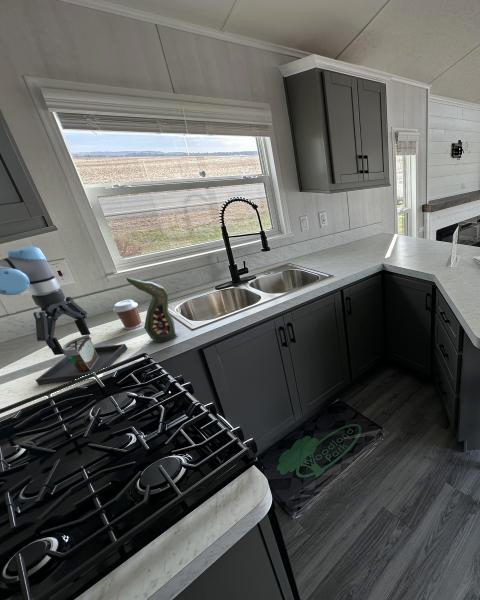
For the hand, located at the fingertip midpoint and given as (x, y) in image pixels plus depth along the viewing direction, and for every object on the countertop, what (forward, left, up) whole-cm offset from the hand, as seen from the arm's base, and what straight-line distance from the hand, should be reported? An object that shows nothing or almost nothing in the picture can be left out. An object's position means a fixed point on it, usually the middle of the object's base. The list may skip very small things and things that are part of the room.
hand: (73, 344), depth 122 cm
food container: (0, 0, -10) cm, 10 cm away
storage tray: (0, 0, -10) cm, 10 cm away
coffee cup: (+29, +13, -10) cm, 34 cm away
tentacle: (+24, -13, -10) cm, 29 cm away
